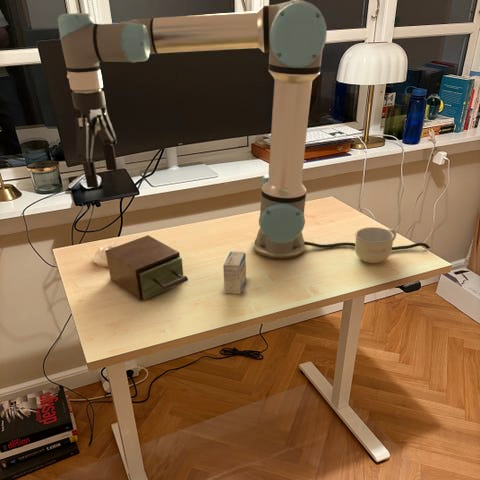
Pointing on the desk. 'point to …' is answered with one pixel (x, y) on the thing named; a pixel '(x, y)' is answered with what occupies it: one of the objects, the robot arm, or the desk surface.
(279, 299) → the desk surface
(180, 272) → the drawer
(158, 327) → the desk surface
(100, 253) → the rose
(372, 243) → the teacup
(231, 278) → the medicine box
